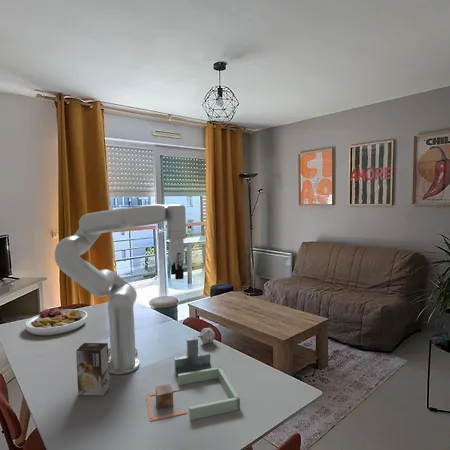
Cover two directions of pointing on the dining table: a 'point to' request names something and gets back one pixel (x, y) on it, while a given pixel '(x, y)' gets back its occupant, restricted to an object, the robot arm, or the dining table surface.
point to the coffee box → (92, 368)
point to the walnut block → (164, 397)
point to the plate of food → (56, 321)
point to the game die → (207, 335)
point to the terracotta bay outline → (163, 415)
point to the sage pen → (211, 407)
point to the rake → (192, 359)
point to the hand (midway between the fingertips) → (177, 276)
